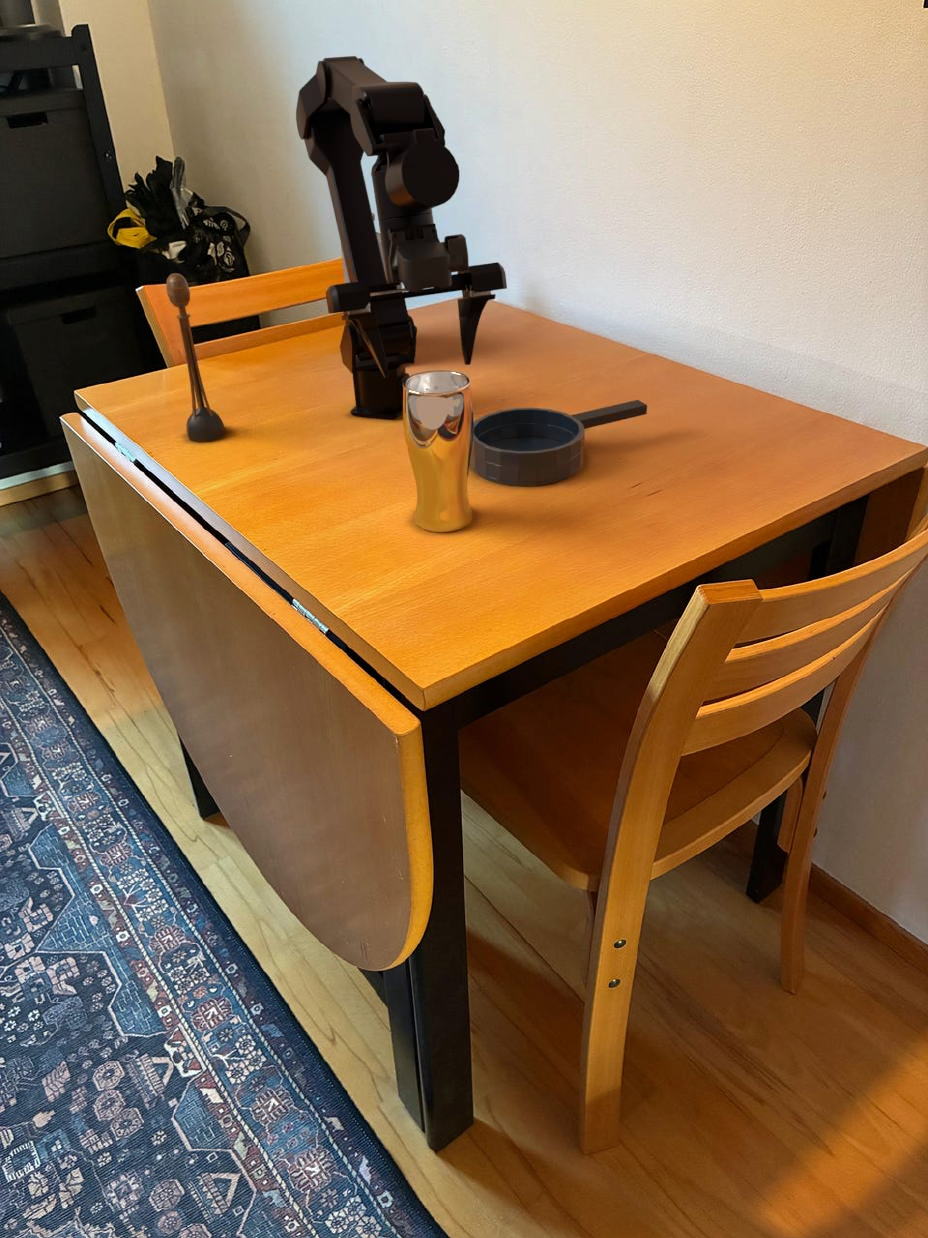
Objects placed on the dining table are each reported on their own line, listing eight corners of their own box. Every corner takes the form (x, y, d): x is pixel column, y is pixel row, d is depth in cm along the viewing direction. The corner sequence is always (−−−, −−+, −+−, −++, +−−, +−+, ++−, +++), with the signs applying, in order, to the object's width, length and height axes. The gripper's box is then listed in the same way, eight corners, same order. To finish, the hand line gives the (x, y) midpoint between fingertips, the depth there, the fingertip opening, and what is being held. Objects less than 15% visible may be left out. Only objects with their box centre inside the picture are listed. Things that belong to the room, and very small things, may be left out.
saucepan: (454, 478, 110) (453, 446, 108) (489, 433, 121) (489, 403, 118) (567, 492, 106) (568, 458, 104) (594, 444, 117) (595, 412, 114)
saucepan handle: (578, 430, 113) (578, 420, 113) (569, 424, 115) (569, 415, 114) (646, 414, 117) (647, 404, 116) (637, 408, 118) (637, 399, 118)
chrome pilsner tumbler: (428, 541, 98) (419, 399, 90) (400, 513, 104) (389, 377, 95) (488, 524, 101) (485, 385, 93) (457, 498, 106) (452, 364, 98)
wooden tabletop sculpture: (183, 428, 126) (150, 269, 115) (219, 421, 127) (189, 264, 116) (192, 444, 121) (157, 280, 110) (228, 437, 123) (198, 275, 111)
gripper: (326, 221, 92) (354, 388, 97) (513, 198, 96) (530, 360, 101) (314, 232, 102) (340, 382, 107) (483, 210, 106) (500, 357, 111)
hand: (427, 370), depth 106 cm, fingers open, 9 cm apart
